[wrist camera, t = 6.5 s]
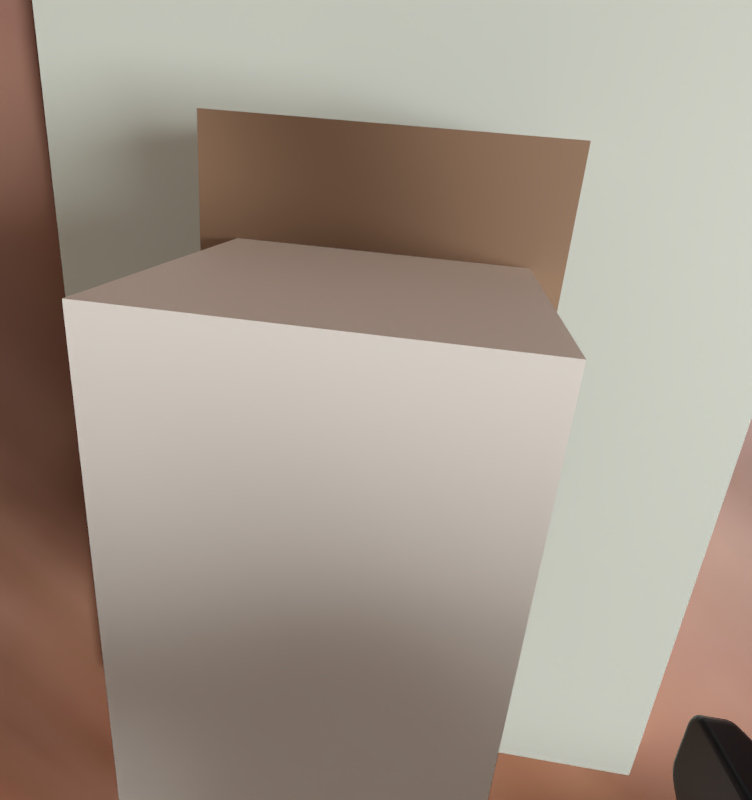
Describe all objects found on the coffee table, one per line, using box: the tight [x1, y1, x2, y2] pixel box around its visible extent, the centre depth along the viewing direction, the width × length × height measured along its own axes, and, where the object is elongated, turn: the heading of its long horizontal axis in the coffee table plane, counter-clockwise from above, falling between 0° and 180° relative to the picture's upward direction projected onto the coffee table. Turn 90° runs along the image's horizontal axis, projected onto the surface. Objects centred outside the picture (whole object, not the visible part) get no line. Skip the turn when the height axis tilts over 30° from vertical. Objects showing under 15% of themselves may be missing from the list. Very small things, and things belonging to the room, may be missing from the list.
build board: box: [32, 0, 752, 775], centre depth 15 cm, size 16×20×1 cm
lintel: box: [62, 238, 586, 800], centre depth 8 cm, size 4×10×4 cm, turn 175°
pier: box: [197, 108, 591, 312], centre depth 11 cm, size 5×5×5 cm
